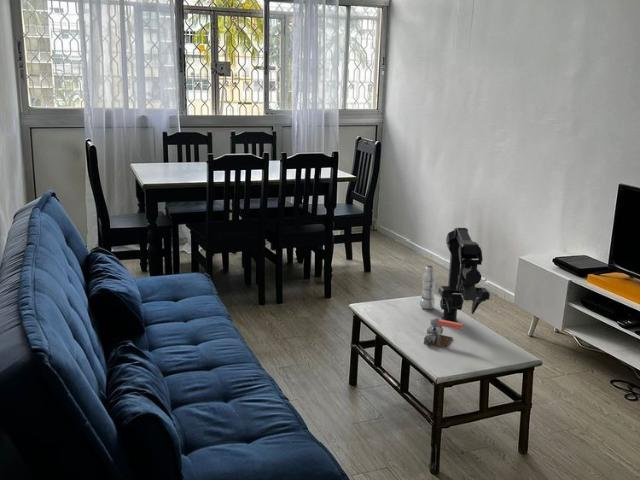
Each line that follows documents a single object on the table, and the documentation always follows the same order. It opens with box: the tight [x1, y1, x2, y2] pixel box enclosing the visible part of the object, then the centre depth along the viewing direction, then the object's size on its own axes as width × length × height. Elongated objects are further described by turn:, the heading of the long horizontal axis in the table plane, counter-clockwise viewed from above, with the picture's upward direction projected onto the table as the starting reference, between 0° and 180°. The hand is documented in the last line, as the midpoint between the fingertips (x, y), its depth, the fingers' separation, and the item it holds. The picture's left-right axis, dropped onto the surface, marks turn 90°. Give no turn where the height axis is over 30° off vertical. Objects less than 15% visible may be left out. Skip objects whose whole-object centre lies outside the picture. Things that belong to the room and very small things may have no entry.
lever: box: [430, 316, 463, 331], centre depth 247 cm, size 3×13×2 cm, turn 63°
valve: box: [423, 325, 453, 349], centre depth 250 cm, size 12×9×7 cm
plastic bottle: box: [419, 264, 437, 310], centre depth 283 cm, size 6×7×20 cm
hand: (460, 313), depth 242 cm, fingers open, 9 cm apart
